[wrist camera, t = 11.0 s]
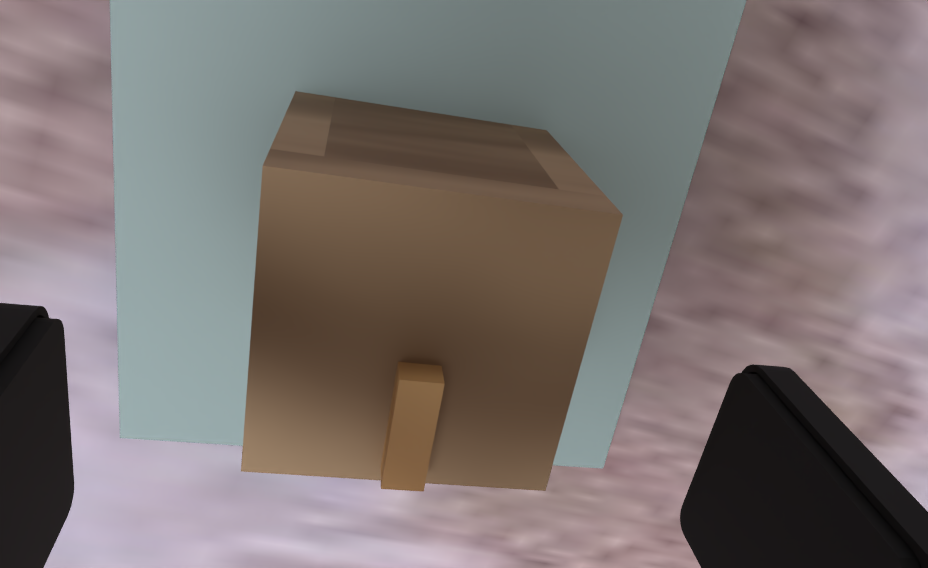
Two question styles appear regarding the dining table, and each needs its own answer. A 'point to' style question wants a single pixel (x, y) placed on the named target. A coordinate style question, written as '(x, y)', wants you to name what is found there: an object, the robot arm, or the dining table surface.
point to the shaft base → (400, 85)
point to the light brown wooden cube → (419, 297)
